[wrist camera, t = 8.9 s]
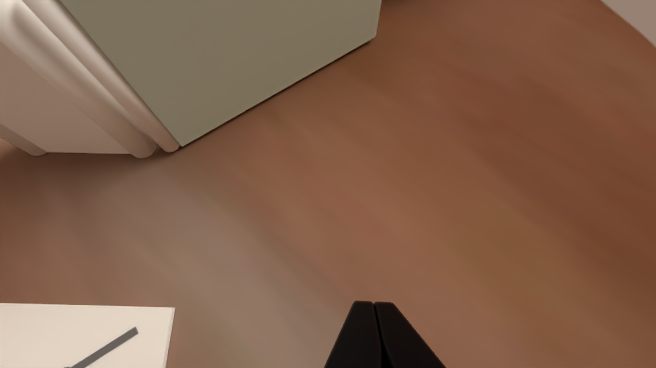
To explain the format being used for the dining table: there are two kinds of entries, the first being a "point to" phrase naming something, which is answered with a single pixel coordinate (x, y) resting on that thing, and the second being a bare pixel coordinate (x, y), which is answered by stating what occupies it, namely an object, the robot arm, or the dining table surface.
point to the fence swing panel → (203, 52)
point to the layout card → (84, 336)
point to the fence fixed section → (57, 95)
